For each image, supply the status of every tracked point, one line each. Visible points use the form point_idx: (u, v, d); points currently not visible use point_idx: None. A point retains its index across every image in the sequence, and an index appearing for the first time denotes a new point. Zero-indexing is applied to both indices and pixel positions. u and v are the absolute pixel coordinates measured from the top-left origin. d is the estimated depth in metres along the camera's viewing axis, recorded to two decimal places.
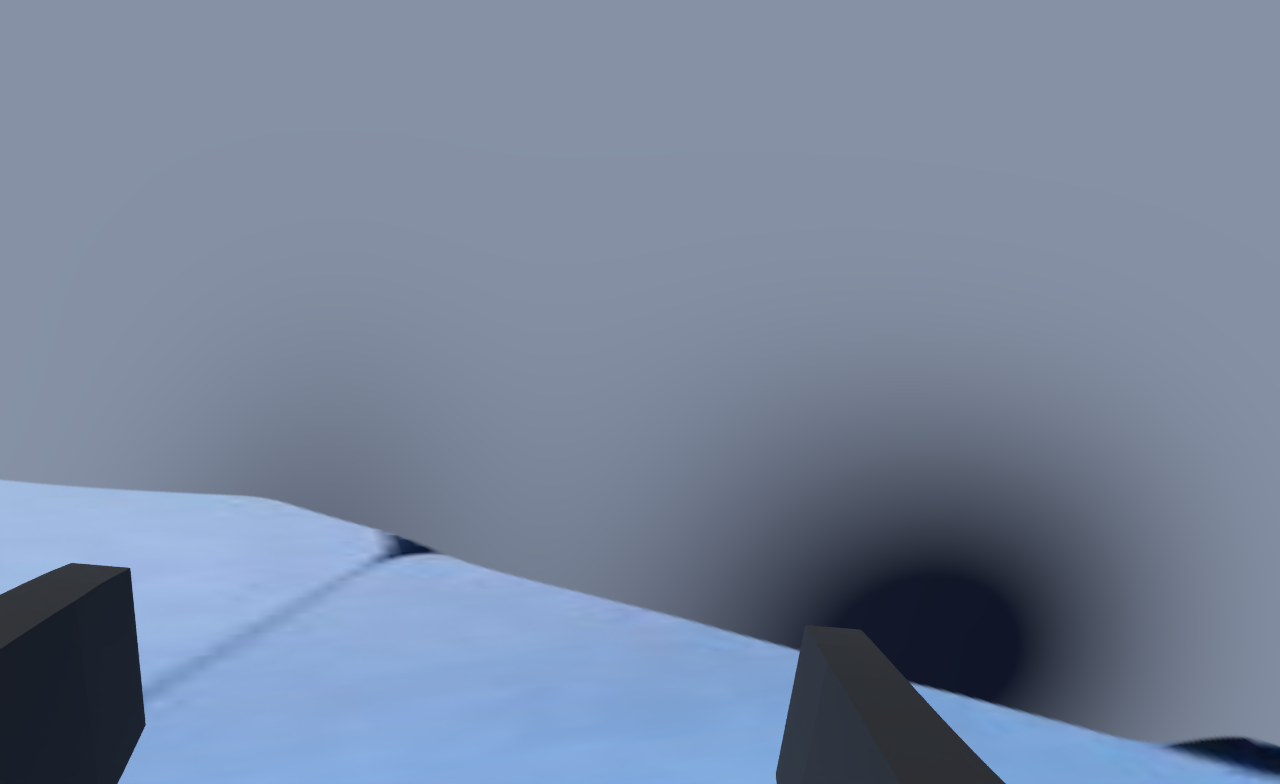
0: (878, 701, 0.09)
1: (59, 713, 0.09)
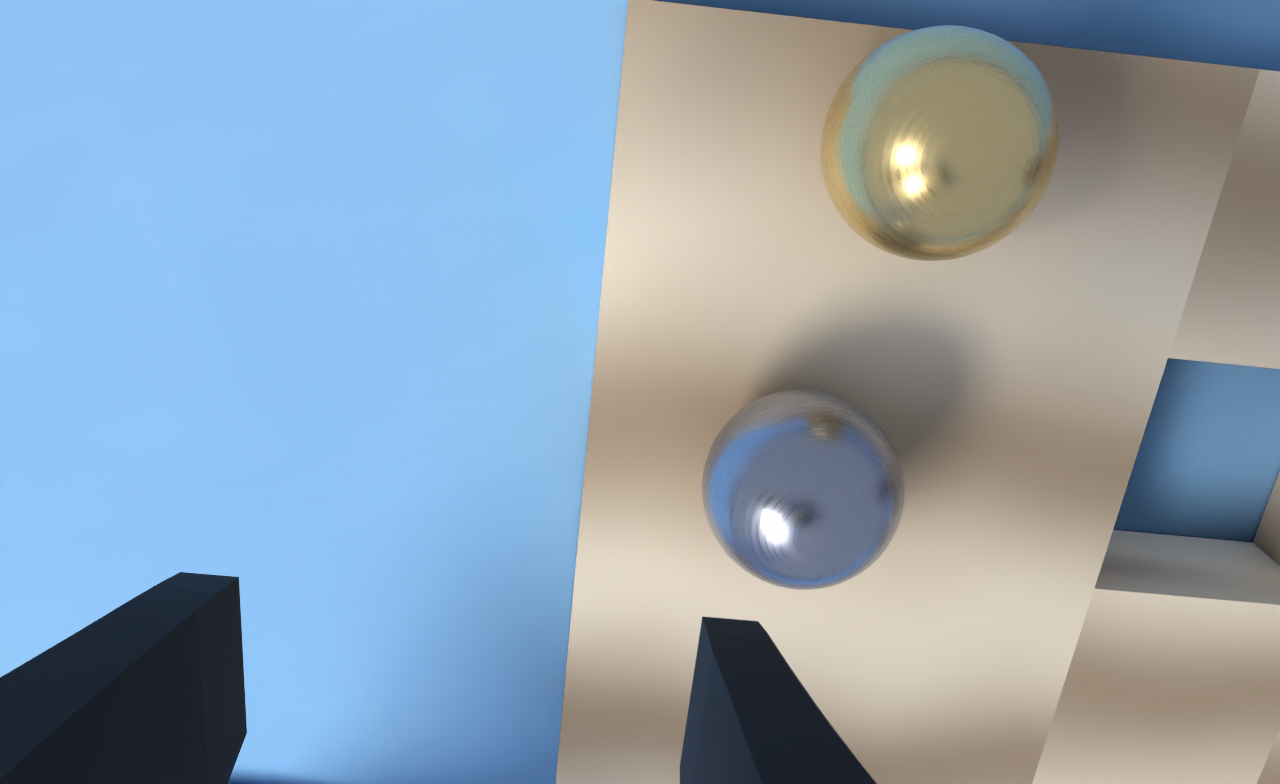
0: (756, 691, 0.09)
1: (181, 721, 0.09)
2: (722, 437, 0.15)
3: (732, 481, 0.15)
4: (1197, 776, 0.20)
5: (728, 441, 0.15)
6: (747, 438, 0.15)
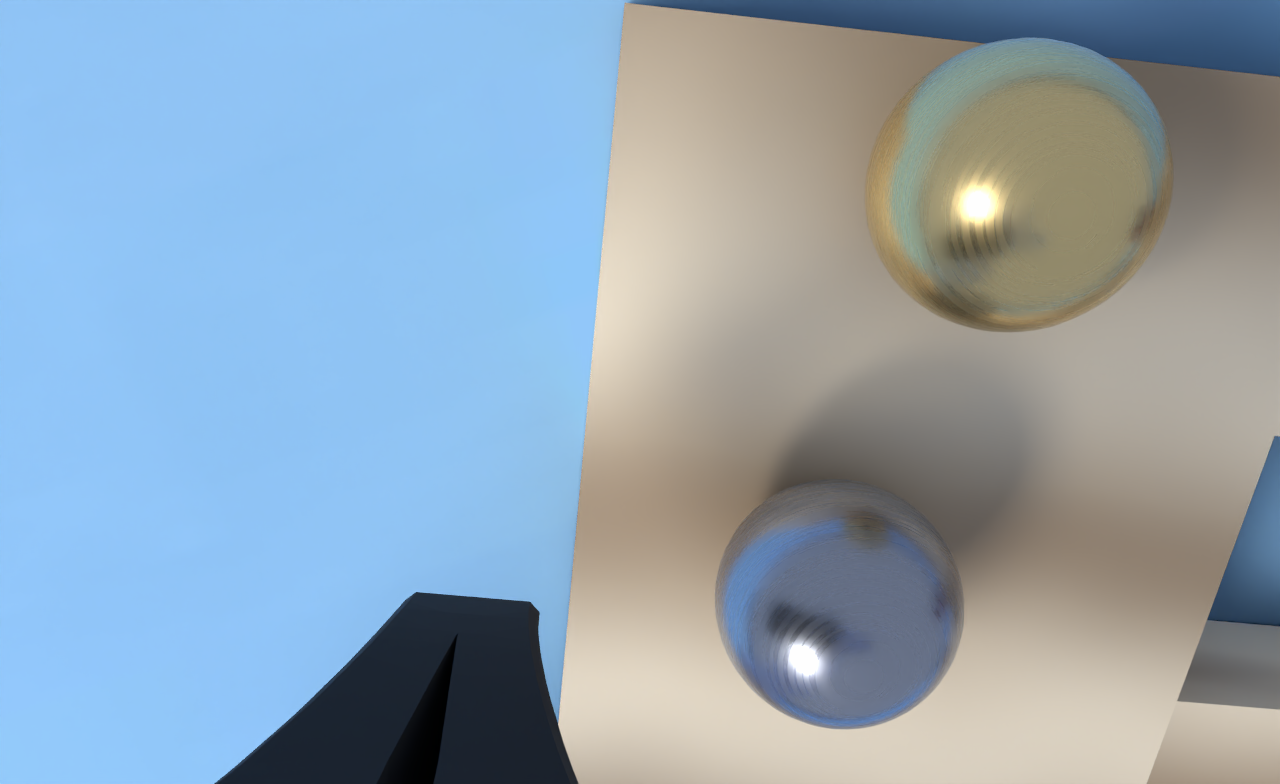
0: (482, 669, 0.08)
1: None
2: (740, 541, 0.12)
3: (753, 601, 0.12)
4: None
5: (748, 548, 0.12)
6: (771, 547, 0.12)
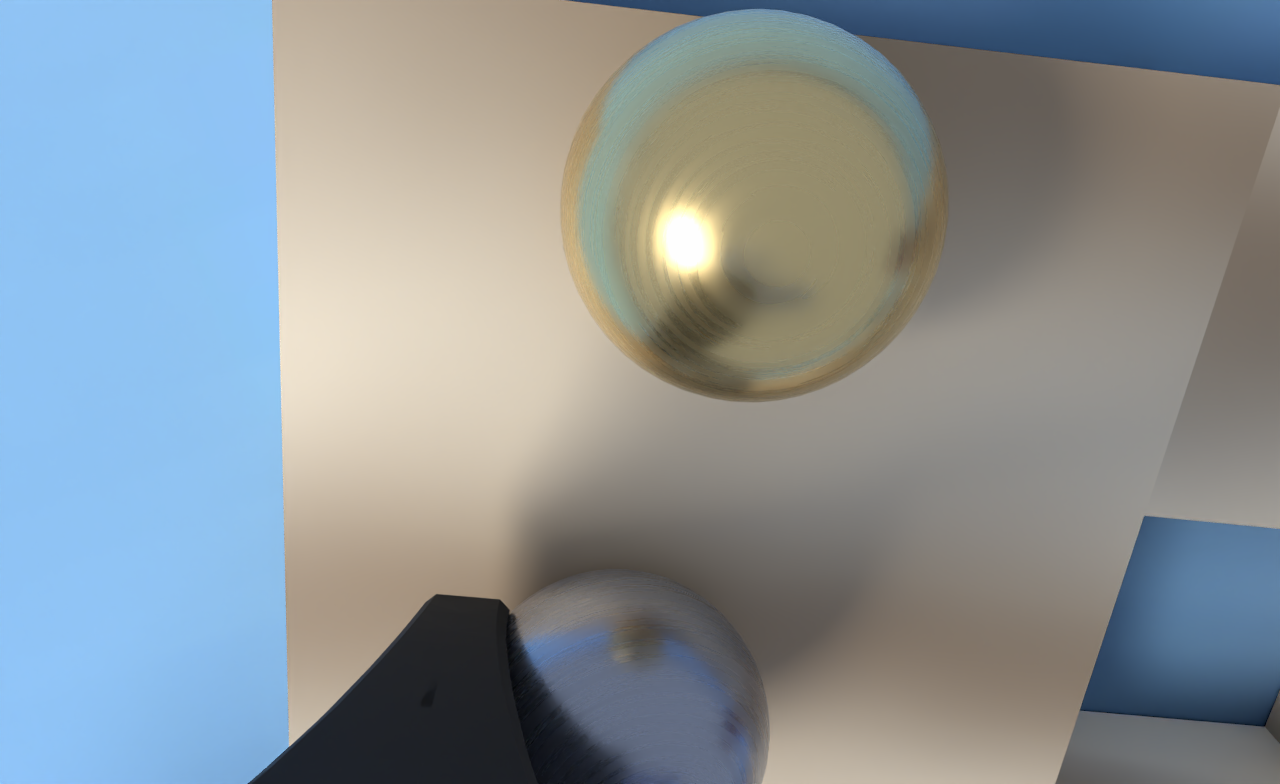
0: (445, 666, 0.08)
1: None
2: None
3: None
4: None
5: None
6: (527, 682, 0.09)
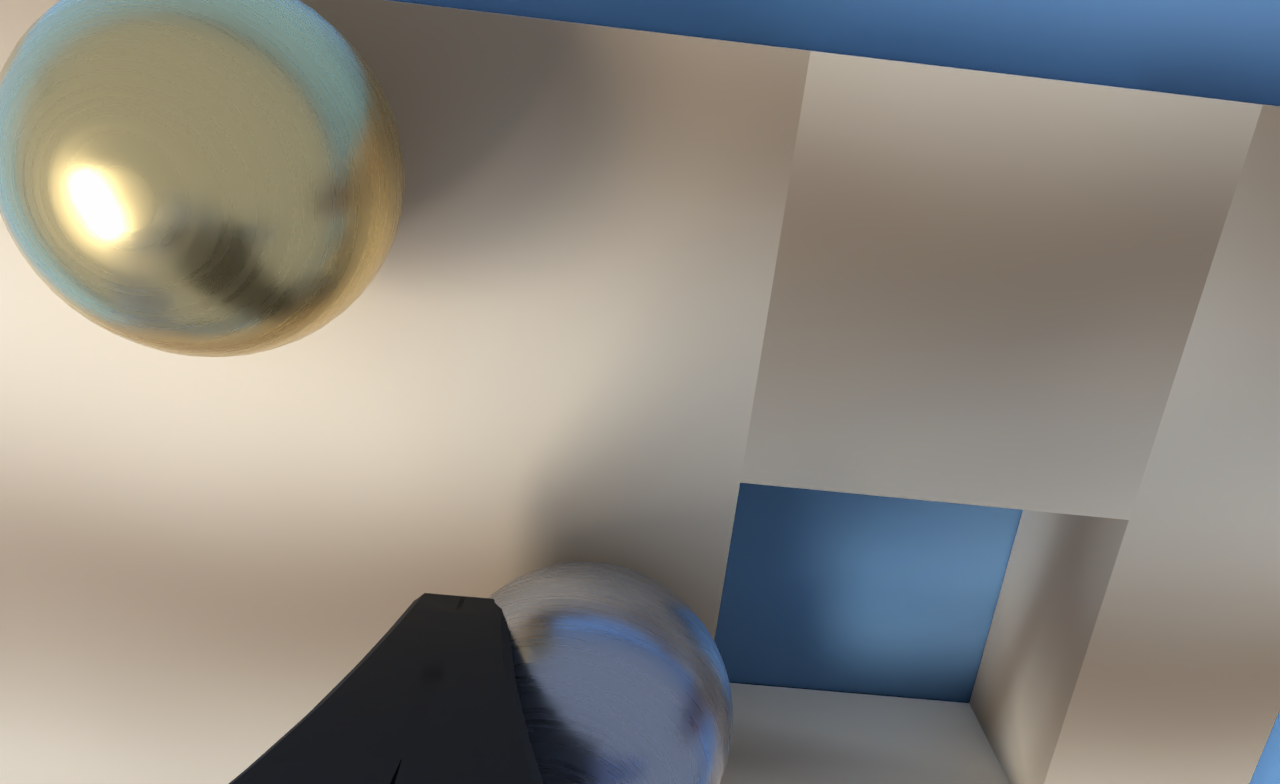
0: (451, 666, 0.08)
1: None
2: (719, 673, 0.10)
3: None
4: None
5: (715, 657, 0.10)
6: (698, 618, 0.10)
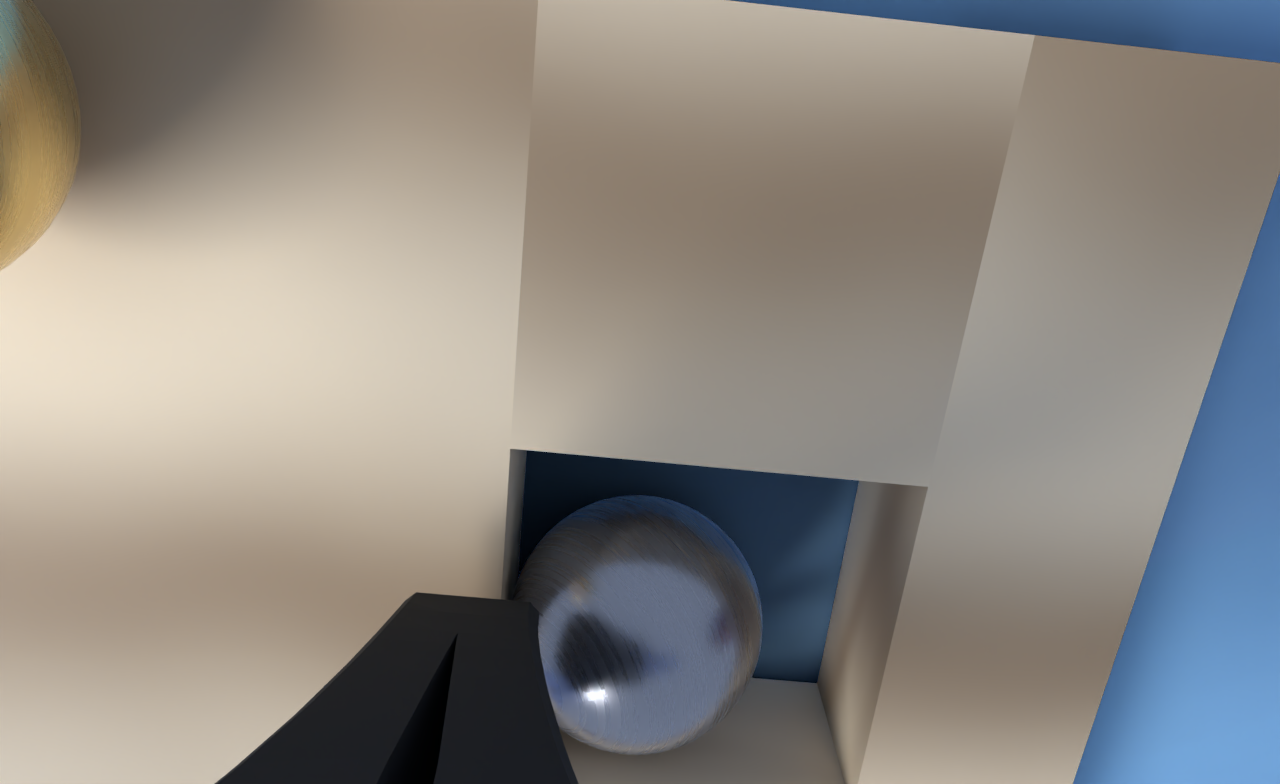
0: (482, 669, 0.08)
1: None
2: None
3: (522, 570, 0.12)
4: None
5: None
6: (550, 534, 0.12)
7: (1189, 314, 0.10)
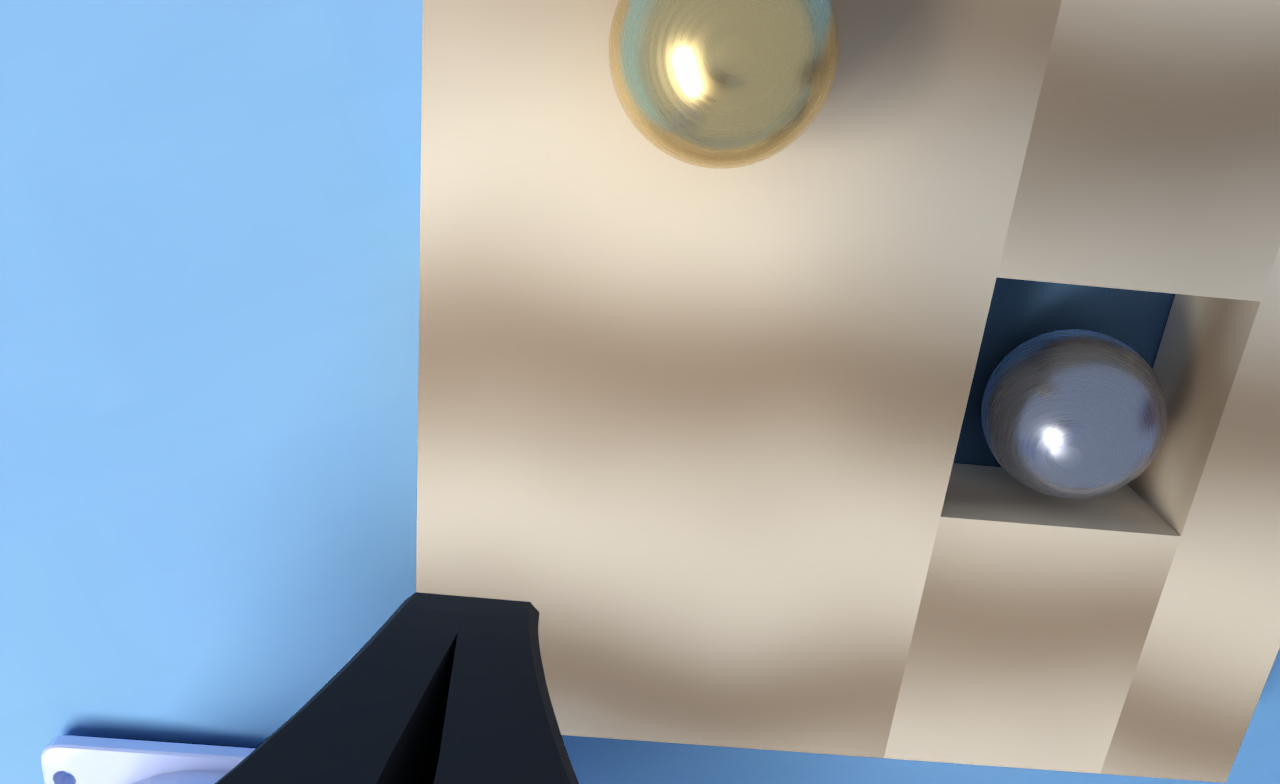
0: (481, 669, 0.08)
1: None
2: (1011, 356, 0.18)
3: (1008, 394, 0.18)
4: (1059, 710, 0.20)
5: (1015, 360, 0.18)
6: (1030, 362, 0.18)
7: None
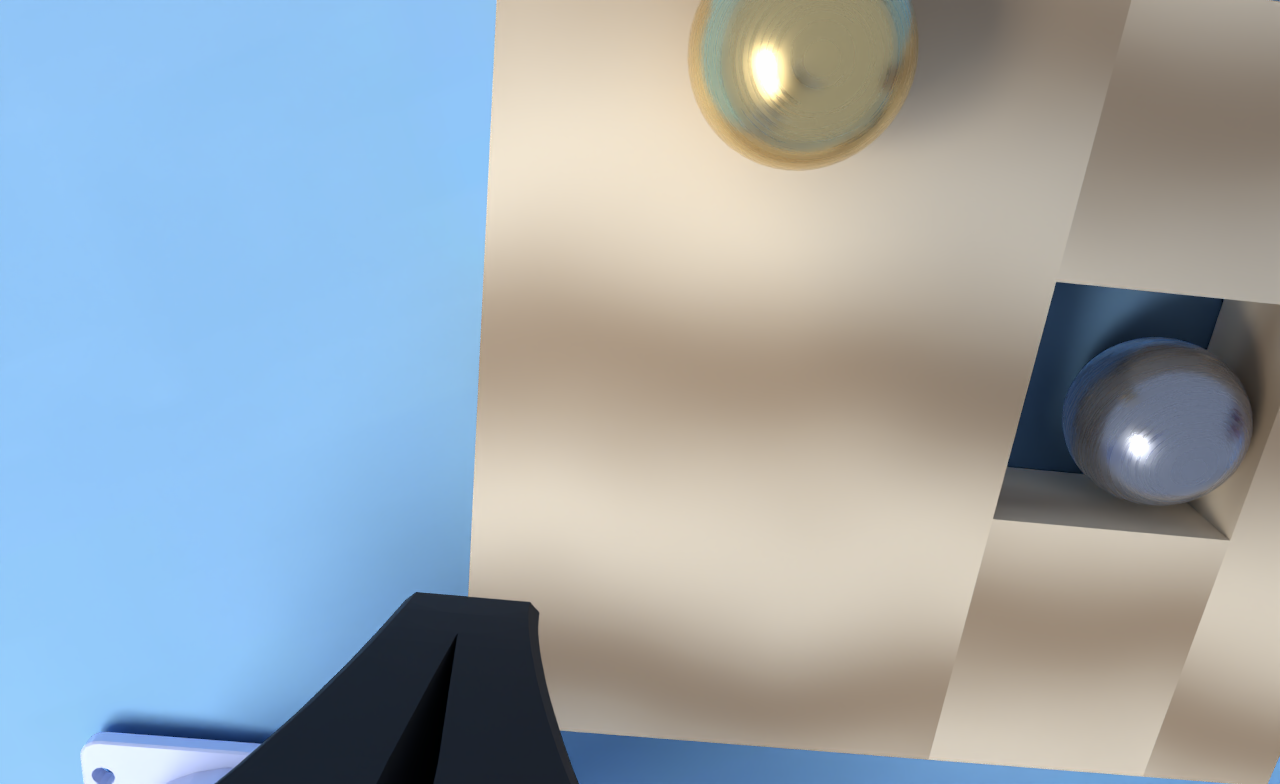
0: (482, 669, 0.08)
1: None
2: (1107, 372, 0.18)
3: (1123, 413, 0.17)
4: (1104, 712, 0.20)
5: (1116, 377, 0.18)
6: (1141, 379, 0.17)
7: None
